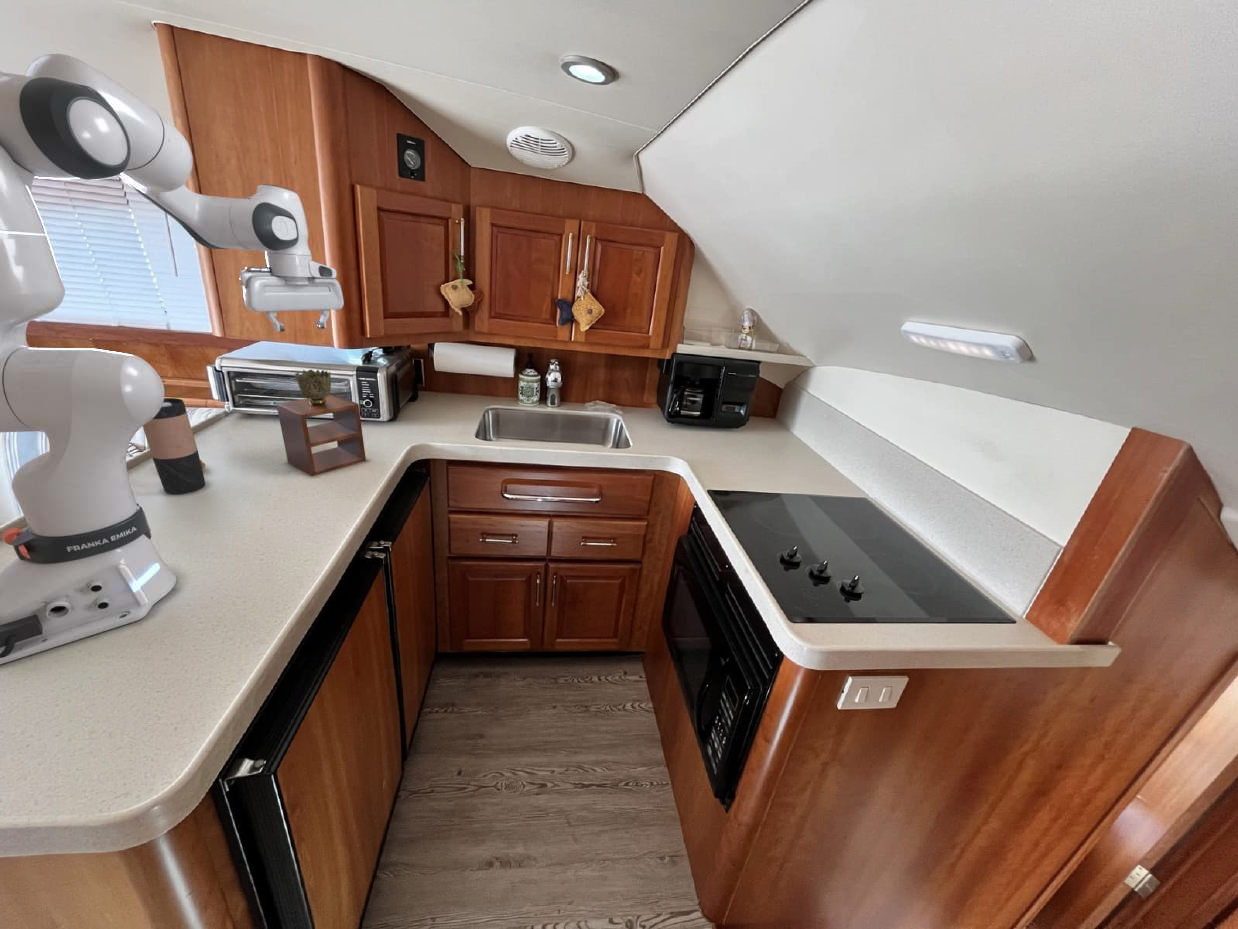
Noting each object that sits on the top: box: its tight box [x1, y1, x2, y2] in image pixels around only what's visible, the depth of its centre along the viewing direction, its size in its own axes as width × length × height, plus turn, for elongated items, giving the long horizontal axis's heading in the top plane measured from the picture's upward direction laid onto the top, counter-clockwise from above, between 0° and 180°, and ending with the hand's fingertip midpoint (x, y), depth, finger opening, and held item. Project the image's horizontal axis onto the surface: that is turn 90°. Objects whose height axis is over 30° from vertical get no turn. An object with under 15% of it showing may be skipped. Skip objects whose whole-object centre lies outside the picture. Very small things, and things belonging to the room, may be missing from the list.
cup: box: [294, 369, 332, 405], centre depth 122 cm, size 8×7×8 cm
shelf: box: [275, 394, 367, 477], centre depth 126 cm, size 14×12×16 cm
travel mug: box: [142, 397, 206, 496], centre depth 107 cm, size 8×8×20 cm
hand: (301, 330), depth 116 cm, fingers open, 8 cm apart
